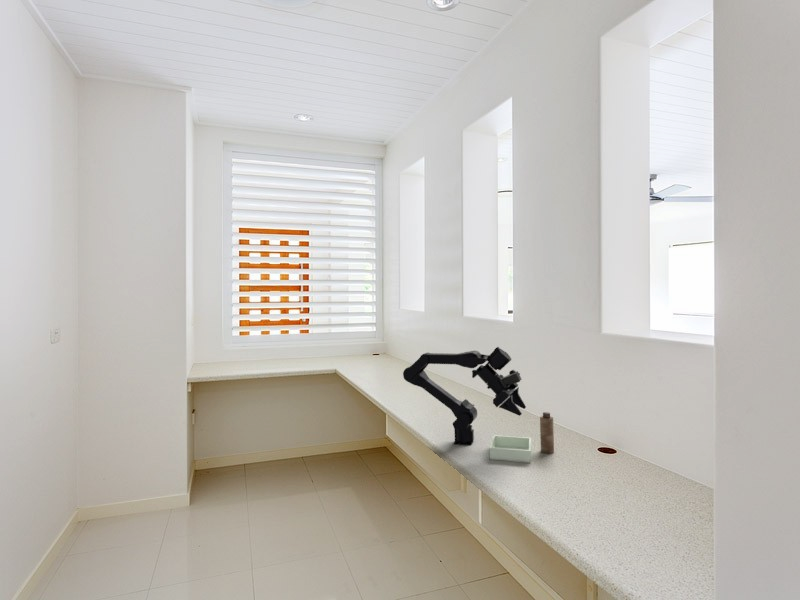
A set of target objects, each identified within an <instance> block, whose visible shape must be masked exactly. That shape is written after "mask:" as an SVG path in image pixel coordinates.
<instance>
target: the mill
mask: <svg viewBox="0 0 800 600" xmlns="http://www.w3.org/2000/svg"><path fill="white" fill-rule="evenodd" d="M554 430H555V429H554V416H551V412H548V411H544V412H542V415H541V416H539V431H540V432H539V433H540V435H539V436H540V438H539V439H540V452H541V453H542V454H545V455H551V454H554V453H555V446H554V444H555V439H554V438H555V437H554V436H555V435H554V433H555V432H554Z"/></svg>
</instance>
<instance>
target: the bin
mask: <svg viewBox="0 0 800 600" xmlns="http://www.w3.org/2000/svg"><path fill="white" fill-rule="evenodd" d="M489 460H491V461H503V462H504V461H505V462H515V463H516V462H517V463H518V462H519V463H529V464H531V463H532V437H526V436H525V437H524V436H511V435H510V436H509V435H508V436H507V435H496V434H495V435H492V438H491V443H490V446H489Z"/></svg>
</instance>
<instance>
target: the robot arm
mask: <svg viewBox="0 0 800 600" xmlns="http://www.w3.org/2000/svg"><path fill="white" fill-rule="evenodd" d="M511 361H512V357H511V355H509V353H508V352H507V351H505V350H504V349H502V348H500V347H499V346H496V347H495V349H493V351H492V352H491V353H490V354H489V355H488V354H482V353H480V351H478V350H469V351H464V352H459V353H440V352H439V353H437V352H435V353H434V352H432V353H431V352H425V353H423V354H421V355H420V357H419V358H418V359H417V360H416V361H415V362H414V363H412V365H410V366H408V367H406V368H405V369H404V370H403V372H402V375H403V376H402V377H403V380H405V381H406V382H407V383H409V384H411V385H412V386H416V387H420V388H422V389H423V390H424V391H425V392H427V393H429V394H430V395H431V396H432V397H433V398H435V399H436V400H438V401H439V402H440V403H441V404H442V405H444V406H446V407H447V408H448V409H450V411H451V412H452V414H453V415H454V417H455V418H456V419H455V420H454V421H453V422H452V427H453V430H454V441H453V444H454V445H461V446H462V445H463V446H472V444H473V442H474V441H475V436H474V435H475V430H474V429H473V425H472V423H473V422H474V421H475V420H476V419H477V417H478V409H477V408H476V407H475V404H473V403H471V402H470V401H469V400H468V399H466V398H465V399H463V400H459V399H457V398H456V397H455V396H453V395H452V394H451V393H449V392H448V391H446V389H445V388H442V386H440V385H439V384H437V383H436V382H435V381H434V380H432V379H431V378H430V377H429V375H427V373H426V371H425V369H426V368H427V367H428V365H430V364H431V365H457V366H460V367H463V368H469V369H472V370H471V375H472V376H471V378H472V379H474V378H476V377H479V379H481V380H482V381H483V382H484V384H486V386H487V387H486V388H487V389H488V390H491V391H492V392H493V393H494V398H493V399H492V404H493V405H494V406H495V407H496V408H499V409H502V410H506V411H508V412H509V413H512V414H515V415H516V416H518V417H520V416H521V415H522V414H523V413H522V411H521V410H520V409H519V408H521V409H524V410H525V409H526V408H527V406H526V404H525V402H524V401H523V400H522V397H521V395H520V393H519V384H518V383H520V382H521V381H522V377H521V375H520V374H521V373H520V372H519V371H516V370H515V369H512V370H509V372H508V373H509V374H507V375H505V376H504V375H503V374H499V373H498V372H497V371H502V369H503V368H505V367H506V366H507V365H508V364H509V363H511ZM485 363H486V364H485ZM483 364H485V365H483ZM476 367H477V369H475V368H476Z"/></svg>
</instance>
